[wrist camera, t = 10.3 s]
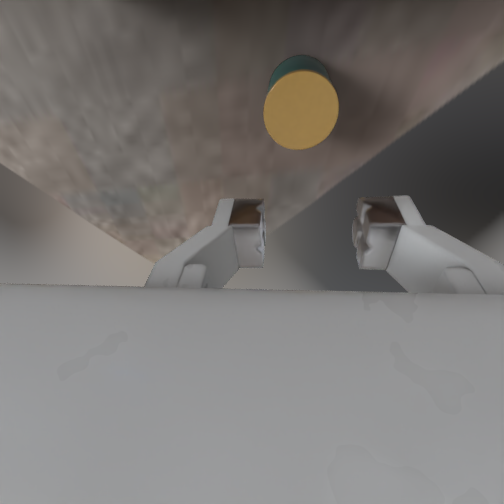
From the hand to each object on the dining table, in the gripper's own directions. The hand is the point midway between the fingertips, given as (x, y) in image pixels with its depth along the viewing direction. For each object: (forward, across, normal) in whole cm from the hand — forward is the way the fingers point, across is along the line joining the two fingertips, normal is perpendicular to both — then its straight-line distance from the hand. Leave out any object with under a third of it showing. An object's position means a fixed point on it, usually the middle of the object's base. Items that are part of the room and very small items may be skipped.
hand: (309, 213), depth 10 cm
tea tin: (+15, 0, 0) cm, 15 cm away
